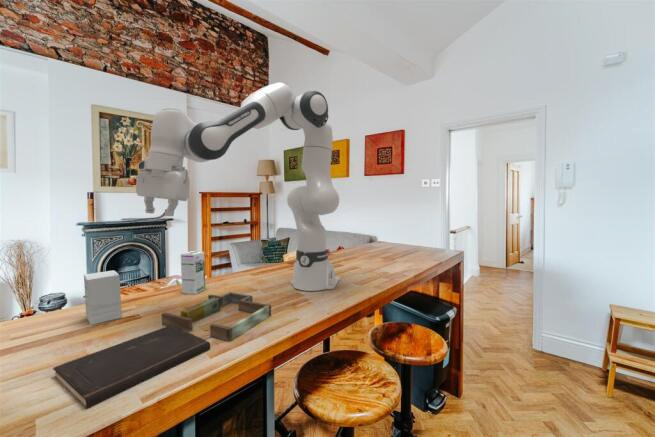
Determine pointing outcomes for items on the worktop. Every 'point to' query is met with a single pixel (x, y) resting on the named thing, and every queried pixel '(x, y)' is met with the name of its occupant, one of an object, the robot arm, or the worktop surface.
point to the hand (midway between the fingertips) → (159, 214)
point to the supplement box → (102, 296)
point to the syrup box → (193, 272)
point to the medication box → (202, 309)
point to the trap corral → (226, 332)
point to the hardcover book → (128, 363)
